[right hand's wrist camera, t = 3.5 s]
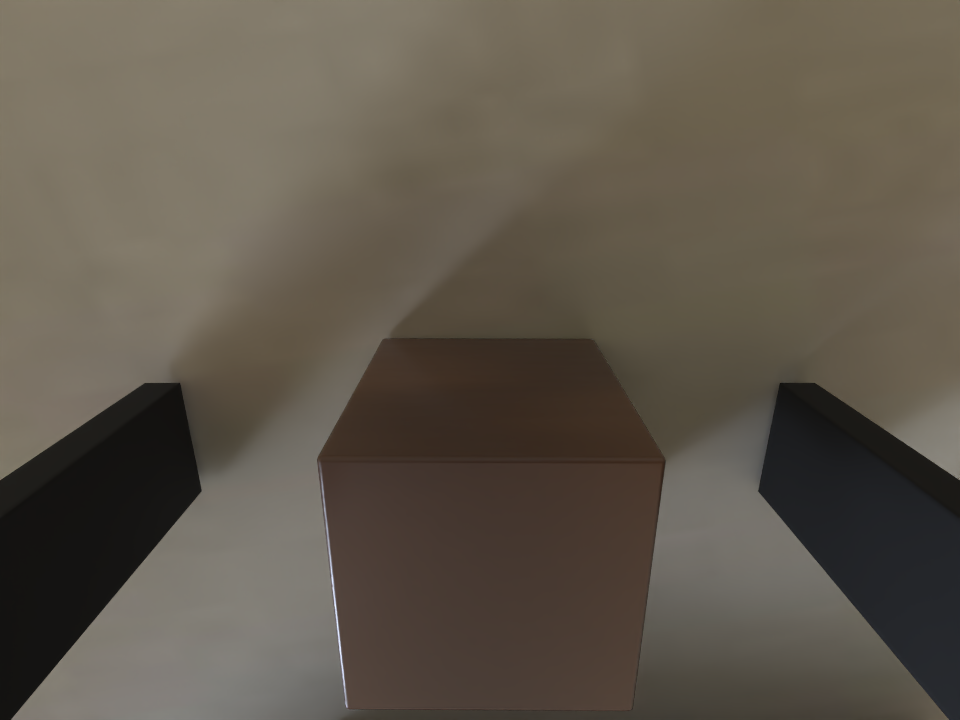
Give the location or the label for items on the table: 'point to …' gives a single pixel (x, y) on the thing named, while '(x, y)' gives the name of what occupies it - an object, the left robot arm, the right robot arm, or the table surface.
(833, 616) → the table surface
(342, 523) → the block
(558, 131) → the table surface
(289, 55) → the table surface
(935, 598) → the right robot arm
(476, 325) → the table surface
